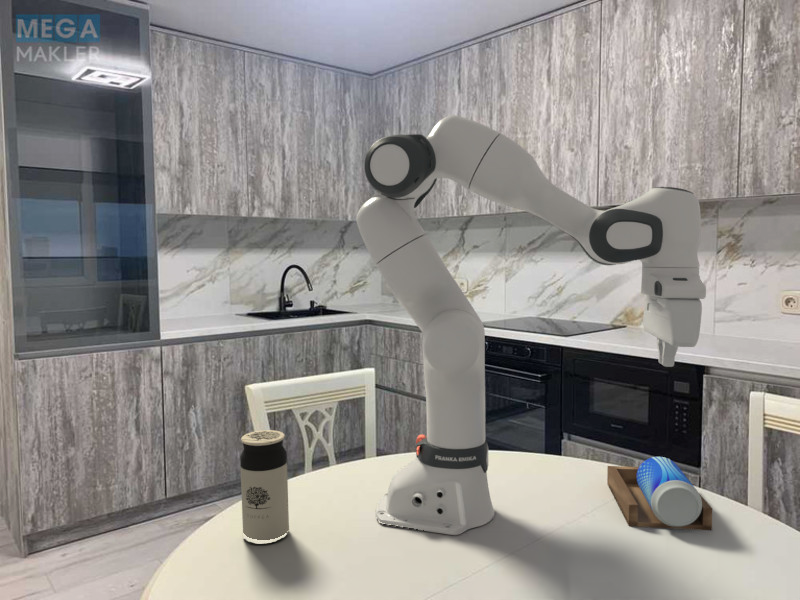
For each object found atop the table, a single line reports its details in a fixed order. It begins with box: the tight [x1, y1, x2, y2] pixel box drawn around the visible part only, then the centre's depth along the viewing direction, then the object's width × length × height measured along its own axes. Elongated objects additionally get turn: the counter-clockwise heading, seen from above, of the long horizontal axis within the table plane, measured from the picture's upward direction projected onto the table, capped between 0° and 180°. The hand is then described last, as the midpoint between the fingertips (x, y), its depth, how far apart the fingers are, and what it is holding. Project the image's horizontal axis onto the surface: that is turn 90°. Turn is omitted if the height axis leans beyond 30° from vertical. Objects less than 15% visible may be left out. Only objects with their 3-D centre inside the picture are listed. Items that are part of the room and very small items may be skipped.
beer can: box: [637, 456, 702, 527], centre depth 110 cm, size 8×8×16 cm
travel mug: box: [239, 429, 290, 540], centre depth 104 cm, size 8×8×18 cm
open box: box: [606, 465, 713, 531], centre depth 115 cm, size 14×20×4 cm
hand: (666, 365), depth 101 cm, fingers closed
